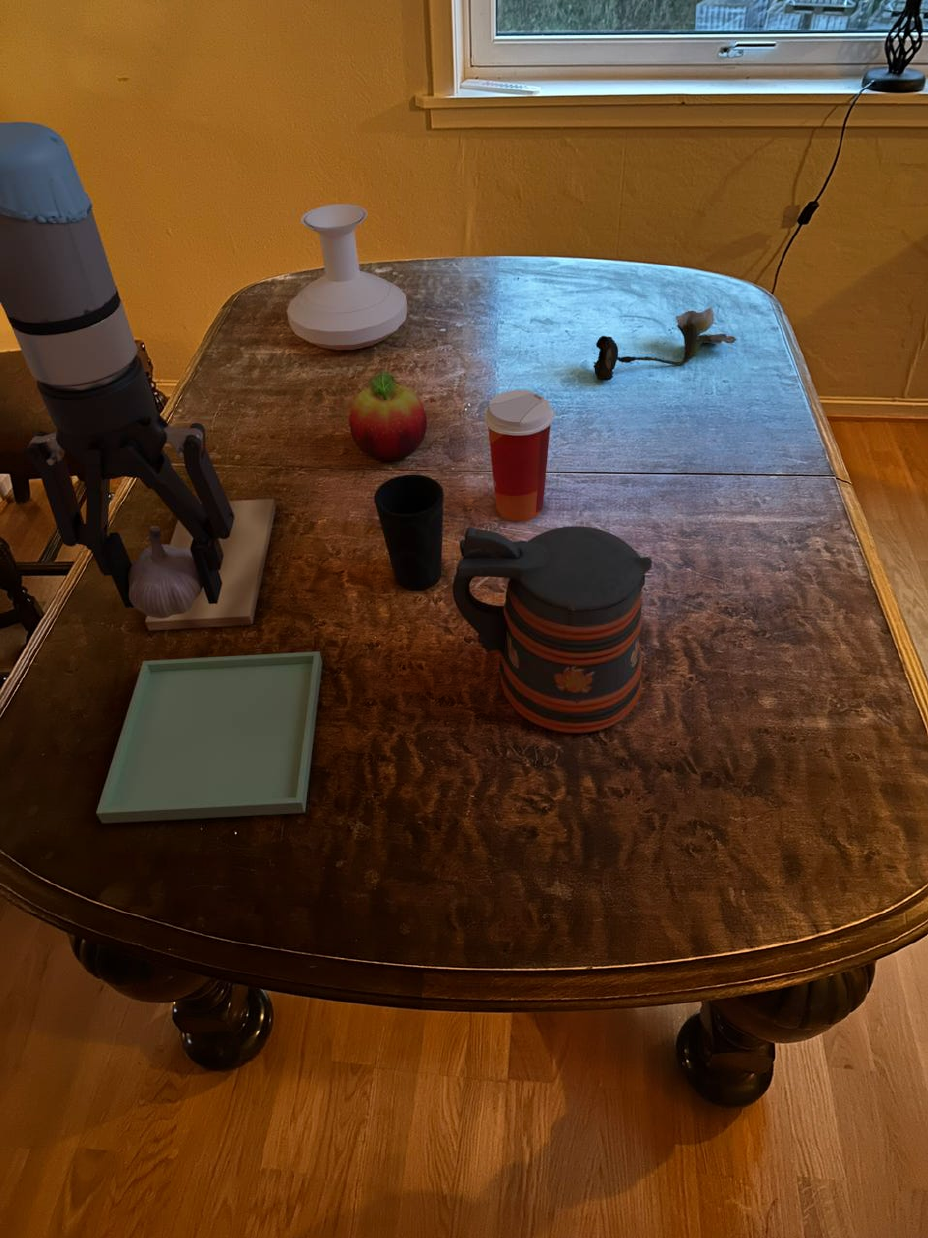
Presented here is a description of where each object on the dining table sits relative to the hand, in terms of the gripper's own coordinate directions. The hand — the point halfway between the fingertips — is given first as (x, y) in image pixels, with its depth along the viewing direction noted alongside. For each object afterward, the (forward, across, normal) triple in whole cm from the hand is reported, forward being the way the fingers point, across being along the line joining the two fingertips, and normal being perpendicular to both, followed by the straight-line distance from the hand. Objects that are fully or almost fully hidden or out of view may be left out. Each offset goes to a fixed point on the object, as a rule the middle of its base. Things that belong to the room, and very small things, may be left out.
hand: (174, 595), depth 80 cm
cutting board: (+17, +5, -24) cm, 29 cm away
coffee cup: (+17, -33, -32) cm, 49 cm away
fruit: (+17, -16, -47) cm, 52 cm away
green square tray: (+17, -1, +3) cm, 17 cm away
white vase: (+17, -8, -83) cm, 85 cm away
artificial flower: (+17, -58, -67) cm, 90 cm away
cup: (+17, -20, -20) cm, 33 cm away
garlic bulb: (+1, 0, 0) cm, 1 cm away
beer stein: (+17, -35, -2) cm, 39 cm away
